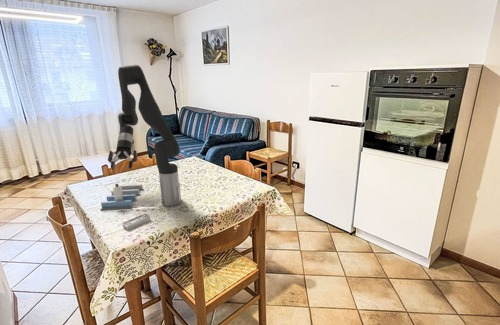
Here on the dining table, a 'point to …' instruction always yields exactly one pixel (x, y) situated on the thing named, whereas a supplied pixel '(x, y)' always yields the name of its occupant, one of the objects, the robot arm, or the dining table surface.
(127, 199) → the grey blue ridged block
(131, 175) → the dining table surface
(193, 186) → the dining table surface
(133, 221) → the multiport hub
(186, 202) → the dining table surface
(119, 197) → the white bottle with cap
